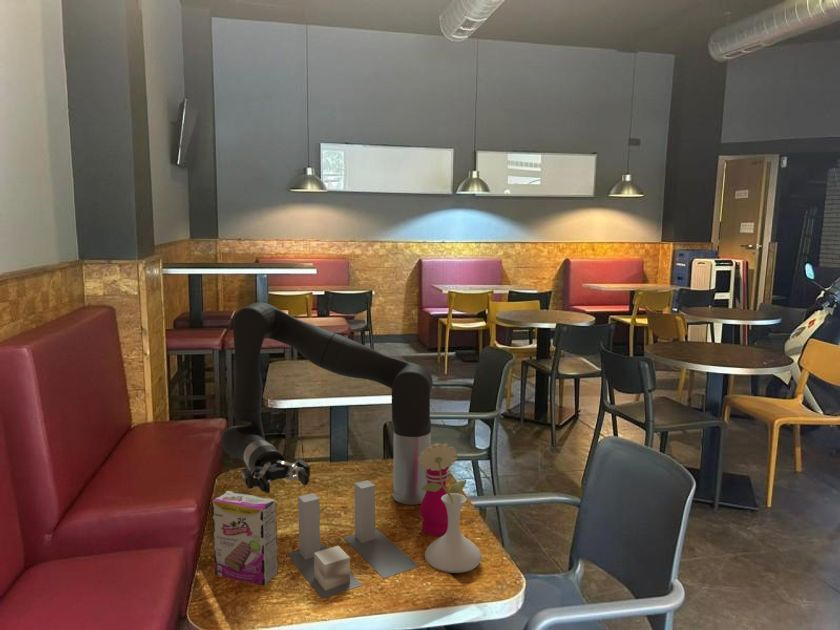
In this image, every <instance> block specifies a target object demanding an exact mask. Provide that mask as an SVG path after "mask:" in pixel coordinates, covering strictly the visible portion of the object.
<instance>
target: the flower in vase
mask: <svg viewBox="0 0 840 630" xmlns="http://www.w3.org/2000/svg"><path fill="white" fill-rule="evenodd" d="M435 444H436V443H433V444H432V443H431V447H427V448H426V450H424V451H423V452H421V457H418V461H419V464H422V465H421V467H422V468H425V469H431V471H434V470H437V471H440V481H441V485H440V484H437V483H429V484H427V485H425V486H424V487H423V488H422V489H421V490H427V491H433V492H435V491H438V490H439V489H440V488H441V487H443V488H444V490H445V491H446V493H447V494H445V495H443V496H442V498H441V499H442V501H443V503H444V504H445V506H446V509H447V514H448V529H447V532H446V534H445V535H442V536H439V537H438V538H437V539H435V540H433V542H431V543H430V544H429V545H428V546H427V548H426V550H425V552H424V558H425V560H426V562H427V564H428V565H430V566H431V567H433V568H434V569H436V570H439V571H443V572H446V573H449V574H462V573H466V572H469V571H472V570H474V569H475V568H476V567H478V565H479V564H480V562H481V561H482V553H481V550H480V549H479V547H478V546H476V544H475V543H473V542H472V541H471V540H470V539H469V538H467V537H465V536H464V535H463V534H462V533H461V531H460V530H461V529H460V517H461V516H460V515H461V513H462V508H463V506H464V504H465V503H466V502H467V497H466V496H465V495H463V494H461V493H459V492H461V491H462V490H463V489H464V488H465V486H466V483H467V479H465V480H462V481H457V482H455V483H452V485H451V486H450V489H449V490H447V487H446V488H445V487H444V485H443V483H442V476H441V469H445V468H446V467H449V468H450V467H452V466H453V464H454V463H456V461H457V459H458V453H457V452H456V448H455V446H448V445H449V444H448V443H446V442H445V443H443V444H442V443H437V444H438V445H437V446H436V445H435Z"/></svg>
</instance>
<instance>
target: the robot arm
mask: <svg viewBox="0 0 840 630" xmlns="http://www.w3.org/2000/svg"><path fill="white" fill-rule="evenodd" d="M232 321H233V322H232V333H233V345H234V346H233V347H234V362H235V364H234V365H235V367H234V369H235V370H234V372H235V374H234V376H235V377H234V387H233V389H234V390H233V398H232V409H231V411H232V416H233V417H234V418H235V420H236V419H237V420H239V421H243V422H248V423H249V424H244V425H233V426H229V427H227V428H226V429H225V430H224V431H223V433H222V435H221V436H222V437H221V445H222V447H223V449H224V451H225V452H226V454H228V455H229V456H231V457H233V458H235V459H239V460H241V461H243V462H244V463H245V464H246V467H247V468H246V467H245V468H242V481H243V482H244V484H245V486H246V487H247V489H249V490H251V489H254V487H256V488H257V489H259V490H260V491H261V492H263V493H265V494H269V493H270V491H271V488H270V487H271V486H270V482H273V481H276V480H289V481H293V480H294V479H295V480H298V481H299V483H301V484H302V485H303V486H304V487H305V486H308V484H309V483H310V477H311V465H309V464H308V462H305V461H304V459H301V458H295V462H290V461H287V460H286V459H285V457H284V455H283V454H282V453H281V452H280V451H279V450H277V448H276V447H275V446H274V445H273V444H272V443H270V442H268V441H267V440H266V439H265V433H264V427H263V423H262V413H261V412H262V411H261V410H262V402H263V400H262V399H263V379H262V375H261V374H262V373H261V368H260V357H261V356H260V355H261V350H262V347H263V343H264V340H265V339H271V340H273V341H277V342H280V343H281V344H285V345H287V346H289V347H291V348H293V349H294V350H296V351H297V352H298V353H300V354H301V355H302V357H304V358H305V359H307V361H309V362H310V363H312V364H313V365H315V366H317V367H319V368H321V369H323V370H326V371H328V372H330V373H332V374H333V373H334V374H337V375H339V376H343V377H348V378H353V379H360V380H361V379H362V380H368V381H373V382H376V383H378V384H380V385H383V386H386V387H388V388H389V389H391V419H392V424H393V499H394V500H395V501H396V502H397V503H400V504H402V505H406V506H407V505H408V506H409V505H411V506H412V505H413V506H414V505H421V503H422V500H423V498H424V496H425V494H426V491H427V490H421V489H422V488H423V487H424V486H425V485H427V479H426V478H425V476H426V474H425V472H426V469H425V468H422V467H421V465H422V464H419V461H418V457H421V452H423V451H424V450H426V448H427V447H431V445H432V441H431V440H432V433H431V431H432V421H431V408H430V407H431V403H430V402H431V391H432V389H433V385H434V384H433V377H432V374H431V373H430V372H429V370H428V369H426V368H425V367H424V366H422V365H420V364H417V363H413V362H410V361H407V360H403V359H399V358H396V357H391V356H389V355H386V354H384V353H381V352H379V351H378V350H375V349H373V348H372V347H369V346H367V345H364V344H362V343H360V342H357V341H355V340H353V339H351V338H349V337H345V336H343V335H341V334H338V333H336V332H333V331H330V330H327V329H325V328H322V327H320V326H317V325H315V324H312V323H309V322H306V321H303V320H301V319H298V318H296V317H294V316H292V315H291V314H289V313H286V312H285V311H283V310H281V309H279V308H277V307H276V306H274V305H272V304H270V303H266V302H261V301H258V302H253V303H250V304H248V305H246V306H244V307H242V308H240V309H239V310H238V311H237V312H236V313H235V315H234V317H233V320H232ZM296 472H297V474H296Z"/></svg>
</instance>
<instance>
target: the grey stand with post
mask: <svg viewBox="0 0 840 630" xmlns="http://www.w3.org/2000/svg"><path fill="white" fill-rule="evenodd" d="M297 501H298V504H297V505H298V506H297V507H298V510H297V511H298V544H299V547H298V548H299V550H293V551H290V552H287V553H286V556H288V557H289V559H290V561H292V563H293V564H294V565H295V567H296V568H297V569H298V570H299V572H300V573H301V574H302V576H303V577H304V578H305V580H306V581H307V582H308V583H309V585H310V586H311V587H312V588H313V590H314V591H315V593H316V594H317V595H318V596H319V597H320V599H321V600H323V599H326V598H329V597H332V596H336V595H338V594H340V593H344V592H347V591H350V590H353V589H357V588H359V587H362V586H363V585H362V583H361V582H360V581H359V580H358V579H357V578H356V577H355V576H354V575H353V574H352V572H350V583H347V584H344V585H341V586H338V587H335V588H332V589H329V590H326V591H325V590H324V589H323V587H322V586H321V585H320V584H319V582H318V581H317V580H316V579H315V577H314V553H315V552H318V551H322V550H325V549H329V548H328V547H327V546H326V545H325V544H324V543H323V542H322V543H321V526H320V525H321V524H320V521H321V516H320V514H321V513H320V511H321V510H320V498H319V497H318V496H317V495H316V494H315V493H314V492H311V493H307V494H306V493H305V494H302V495H299V496H297Z"/></svg>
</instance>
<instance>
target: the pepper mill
mask: <svg viewBox="0 0 840 630" xmlns="http://www.w3.org/2000/svg"><path fill="white" fill-rule="evenodd" d="M434 444H435V445H436V446H437V445H438V444H439V443H434ZM449 469H450V467H446V468H445V469H441V476H442V483H443V485H444V487H445V488H446V489H447V485H446V484H447V480H448V479H449V472H448V470H449ZM425 474H426V476H425V478H426V479H427V484H429V483H437V484H440V485H441V481H440V471H437V470H434V471H431V469H426V472H425ZM445 494H447V493H446V491H445V490H444V488H443V487H441V488H440V489H439V490H438V491H435V492H433V491H426V494H425V496H424V498H423V500H422V503H421V504H420V509H419V515H420V517H421V518H422V521H421V531H423V533H424V534H426V535H428V536H432V537H433V536H434V537H442V536H443V535H445V534H446V532H447V529H448V514H447V509H446V506H445V504H444V503H443V501H442V499H441V498H442V496H443V495H445Z"/></svg>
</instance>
